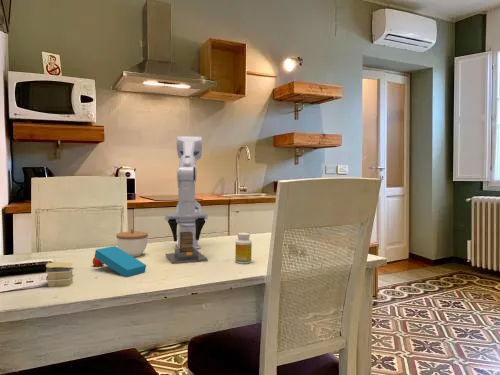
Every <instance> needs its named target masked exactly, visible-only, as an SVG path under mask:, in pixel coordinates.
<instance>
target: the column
mask: <svg viewBox="0 0 500 375" xmlns="http://www.w3.org/2000/svg"><path fill="white" fill-rule="evenodd" d="M180 251H181V252H184V251H193V233H192V232H180Z"/></svg>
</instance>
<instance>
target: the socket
mask: <svg viewBox="0 0 500 375" xmlns="http://www.w3.org/2000/svg"><path fill="white" fill-rule="evenodd" d="M165 257H166V258H167V260H168V261H169V262H170V263H171V264H173V265H175V264H186V263H187V264H188V263H199V262H200V263H201V262H202V263H203V262H208V261H209V259H208V257H206V256H205V255H204V254H202V252H200V251H199V250H198V249H195V248H194V247H193V251H184V252H181V251H180V248H178V247H177V248H174V252H172V253H165Z"/></svg>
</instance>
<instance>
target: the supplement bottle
mask: <svg viewBox="0 0 500 375" xmlns="http://www.w3.org/2000/svg"><path fill="white" fill-rule="evenodd" d="M250 236H251V234H250V233H248V232H237V238H238V239H236V241H235V258H234V259H235V263H237V264H243V265H246V264H251V263H252V246H253V243H252V240H251V239H250V238H251V237H250Z"/></svg>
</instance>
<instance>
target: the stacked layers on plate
mask: <svg viewBox="0 0 500 375" xmlns="http://www.w3.org/2000/svg"><path fill="white" fill-rule="evenodd" d="M72 265H74V262H62V261H56V262H55V261H53V262H48V263H46V265H45V267H46V269H45V274H47V275H46V278H45V281H47V287H50V288H53V287H60V286H61V287H65V286H67V287H68V286H70V285H71V284H72V283H73V277H74V276H75V275H74V274H73V270H74V269H75V267H72Z"/></svg>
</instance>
